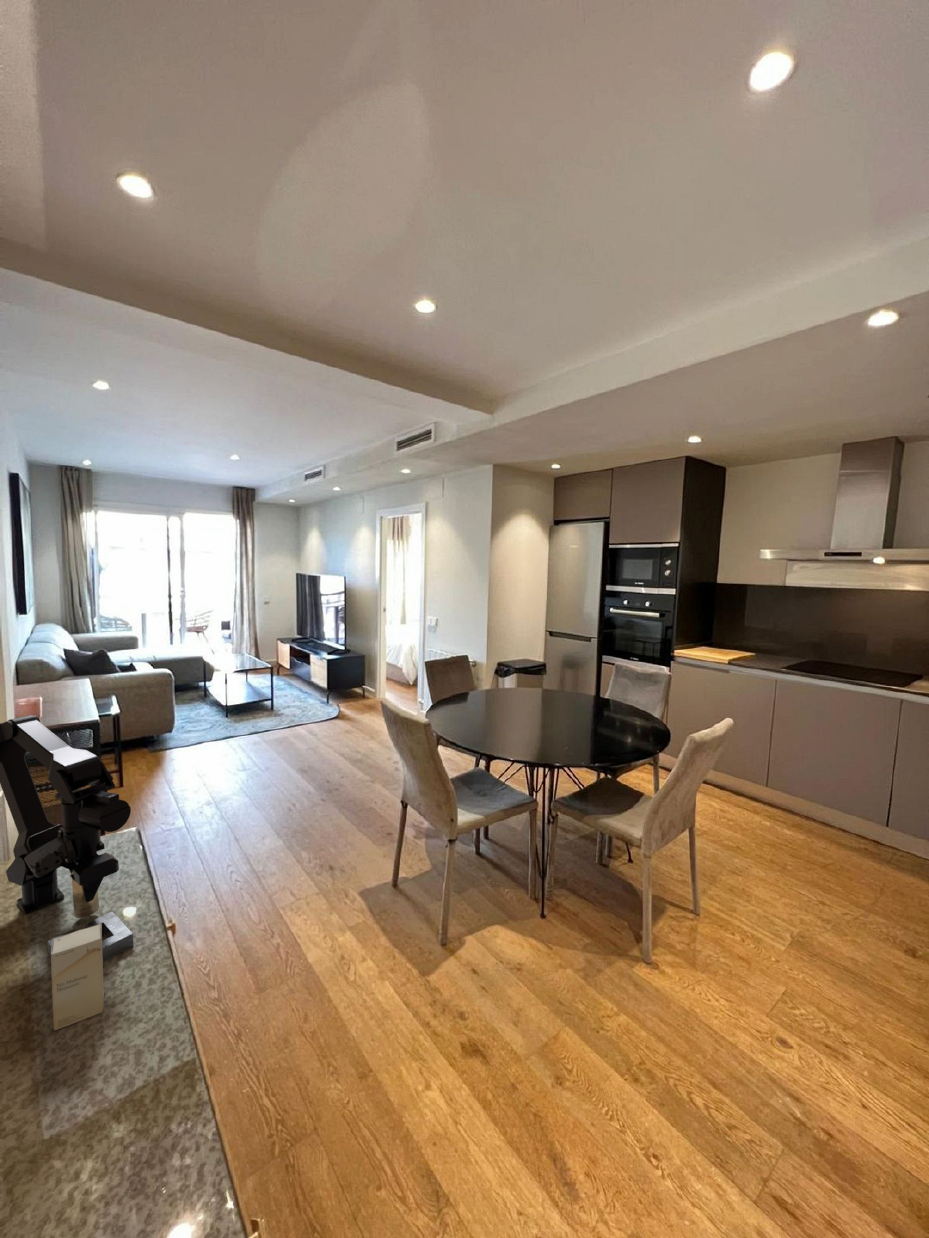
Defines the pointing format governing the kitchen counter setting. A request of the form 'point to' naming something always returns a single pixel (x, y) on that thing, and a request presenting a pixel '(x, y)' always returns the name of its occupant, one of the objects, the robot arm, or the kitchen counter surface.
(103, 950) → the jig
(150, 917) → the kitchen counter surface
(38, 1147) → the kitchen counter surface
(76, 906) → the bushing
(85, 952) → the skincare box
